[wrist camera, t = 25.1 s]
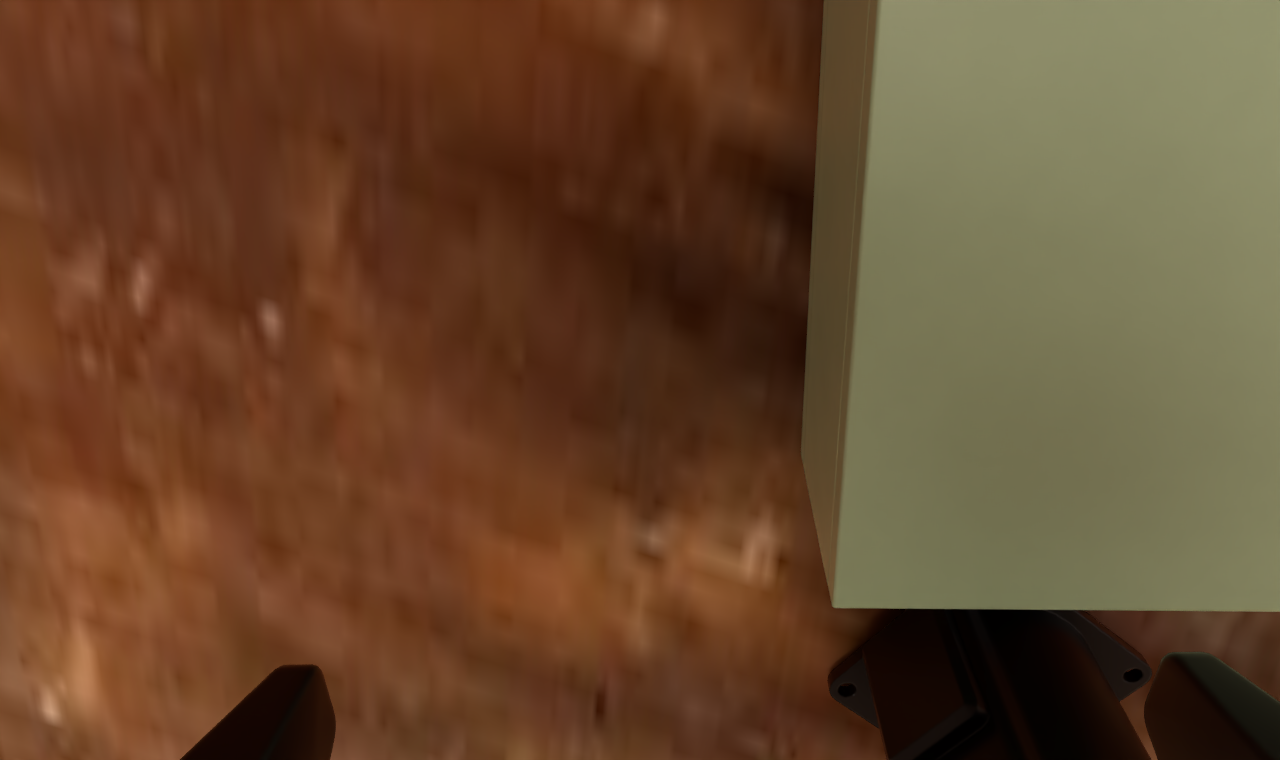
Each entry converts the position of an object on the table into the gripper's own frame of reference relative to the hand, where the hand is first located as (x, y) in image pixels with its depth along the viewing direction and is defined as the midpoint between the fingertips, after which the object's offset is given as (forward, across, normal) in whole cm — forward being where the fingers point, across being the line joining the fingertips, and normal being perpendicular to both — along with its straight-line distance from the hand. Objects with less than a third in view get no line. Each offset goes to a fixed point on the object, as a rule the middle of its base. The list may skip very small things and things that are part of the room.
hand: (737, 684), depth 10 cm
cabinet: (+12, -8, -1) cm, 15 cm away
